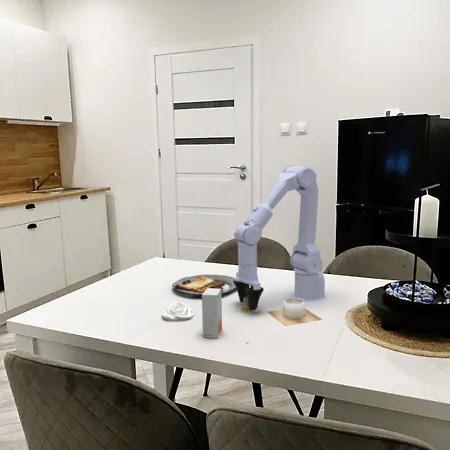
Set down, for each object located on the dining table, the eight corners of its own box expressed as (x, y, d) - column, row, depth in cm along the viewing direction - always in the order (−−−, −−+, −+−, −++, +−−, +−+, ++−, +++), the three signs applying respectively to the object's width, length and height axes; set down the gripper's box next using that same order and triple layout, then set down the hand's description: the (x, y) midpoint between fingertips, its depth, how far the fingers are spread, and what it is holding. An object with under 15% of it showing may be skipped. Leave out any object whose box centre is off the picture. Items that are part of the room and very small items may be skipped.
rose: (175, 295, 143) (200, 300, 138) (176, 309, 144) (200, 314, 139) (154, 305, 135) (179, 310, 130) (155, 319, 136) (180, 325, 130)
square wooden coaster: (301, 308, 142) (301, 306, 142) (322, 321, 130) (322, 319, 130) (266, 313, 138) (266, 311, 138) (285, 327, 126) (285, 325, 126)
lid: (253, 306, 145) (253, 293, 145) (262, 312, 139) (262, 299, 138) (234, 308, 143) (233, 296, 142) (242, 316, 137) (242, 302, 136)
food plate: (214, 303, 148) (214, 292, 147) (159, 293, 160) (159, 283, 159) (251, 285, 169) (251, 276, 168) (199, 278, 181) (199, 269, 180)
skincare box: (218, 338, 120) (217, 295, 118) (202, 337, 121) (201, 294, 119) (222, 329, 126) (221, 288, 124) (207, 328, 127) (206, 287, 125)
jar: (298, 310, 138) (298, 296, 137) (308, 317, 132) (309, 302, 131) (279, 313, 136) (279, 299, 135) (289, 320, 130) (289, 305, 129)
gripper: (227, 259, 144) (228, 300, 146) (244, 270, 130) (245, 315, 133) (247, 257, 146) (248, 297, 148) (266, 267, 133) (267, 312, 135)
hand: (248, 305), depth 141 cm, fingers open, 7 cm apart
